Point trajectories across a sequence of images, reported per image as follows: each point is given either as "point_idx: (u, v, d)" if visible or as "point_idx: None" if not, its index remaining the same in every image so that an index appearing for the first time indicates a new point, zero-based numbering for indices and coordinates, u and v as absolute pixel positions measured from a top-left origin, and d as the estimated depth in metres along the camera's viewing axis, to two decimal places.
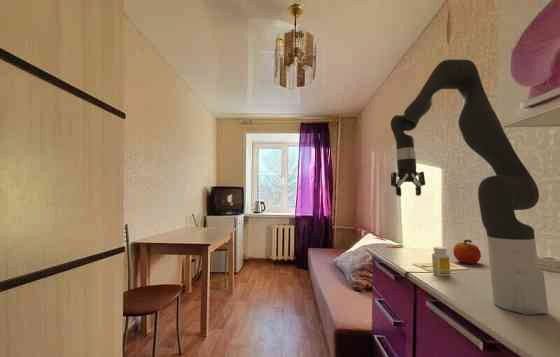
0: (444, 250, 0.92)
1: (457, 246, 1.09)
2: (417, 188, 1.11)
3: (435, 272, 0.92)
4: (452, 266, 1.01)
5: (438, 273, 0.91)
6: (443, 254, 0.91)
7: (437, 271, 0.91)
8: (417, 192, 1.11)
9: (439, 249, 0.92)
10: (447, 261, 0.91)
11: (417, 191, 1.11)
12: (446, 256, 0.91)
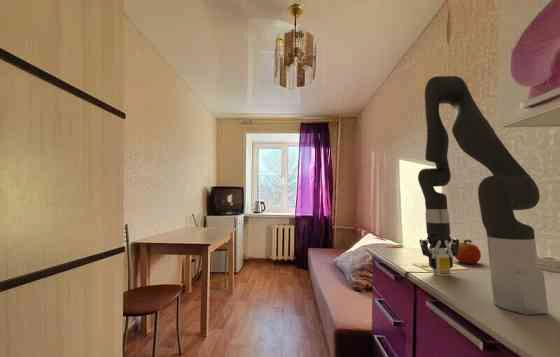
0: (444, 250, 0.92)
1: None
2: None
3: (435, 272, 0.92)
4: (452, 266, 1.01)
5: (438, 273, 0.91)
6: (443, 254, 0.91)
7: (437, 271, 0.91)
8: None
9: (439, 249, 0.92)
10: (447, 261, 0.91)
11: None
12: (446, 256, 0.91)
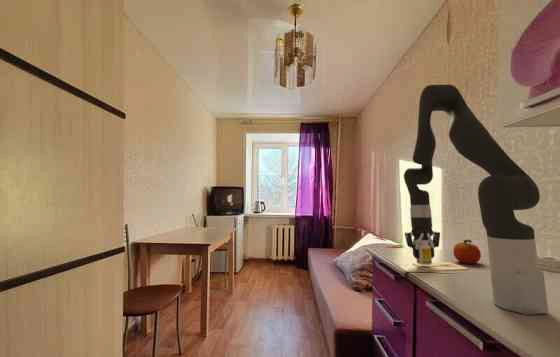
0: (426, 242, 1.02)
1: (457, 246, 1.09)
2: None
3: (418, 261, 1.02)
4: (452, 266, 1.01)
5: (421, 262, 1.01)
6: (425, 245, 1.02)
7: (420, 261, 1.02)
8: None
9: (422, 241, 1.02)
10: (429, 251, 1.01)
11: None
12: (428, 247, 1.01)
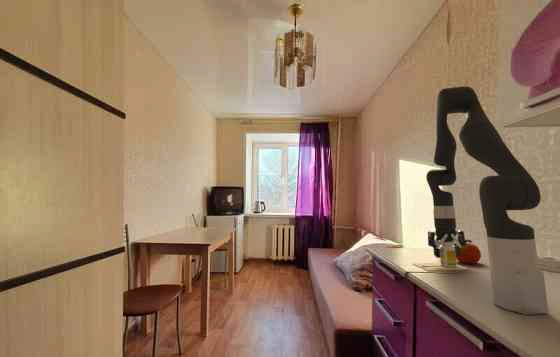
0: (451, 243, 1.02)
1: None
2: (456, 249, 1.04)
3: (442, 263, 1.03)
4: None
5: (445, 264, 1.02)
6: (450, 247, 1.02)
7: (444, 263, 1.02)
8: (456, 253, 1.04)
9: (446, 243, 1.02)
10: (453, 253, 1.01)
11: (456, 252, 1.04)
12: (452, 249, 1.01)
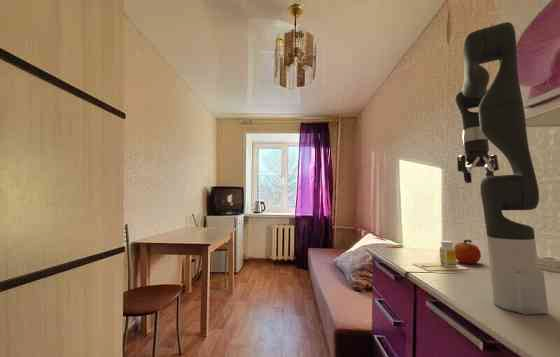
0: (451, 243, 1.02)
1: (457, 246, 1.09)
2: (489, 174, 0.96)
3: (442, 263, 1.03)
4: None
5: (445, 264, 1.02)
6: (450, 247, 1.02)
7: (444, 263, 1.02)
8: None
9: (446, 243, 1.02)
10: (453, 253, 1.01)
11: None
12: (452, 249, 1.01)
